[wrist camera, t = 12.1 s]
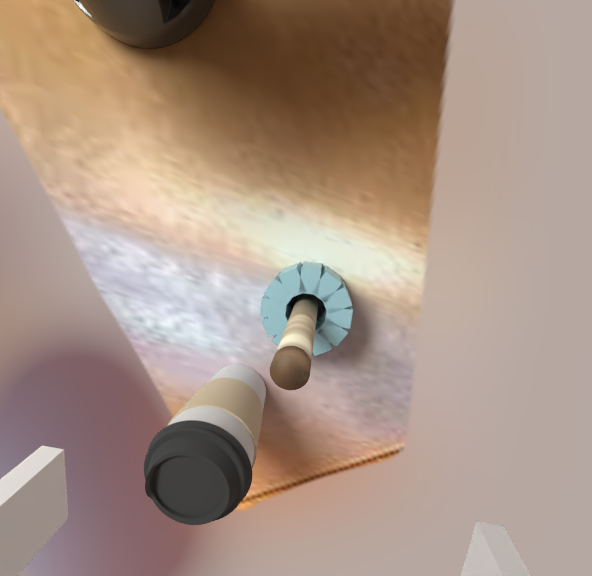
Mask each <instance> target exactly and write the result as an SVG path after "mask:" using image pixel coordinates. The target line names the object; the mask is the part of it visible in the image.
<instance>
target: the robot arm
mask: <svg viewBox="0 0 592 576" xmlns="http://www.w3.org/2000/svg"><path fill="white" fill-rule="evenodd" d="M73 1H74V2H75V4H76V5H77V6H78V7H79V8H80V10H81V11H82V12H83V13H84V14H85V15H86V16H87V17H88V18H89V19H90V20H92V21H93V22H94V23H95V24H97V25H98V26H99V27H100V28H101V29H103V30H104V31H105V32H106V33H107V34H109V35H110V36H112V37H113V38H115V39H117V40H119V41H121V42H123V43H125V44H128V45H131V46H135V47H141V48H157V47H163V46H167V45H170V44H172V43H175V42H177V41H179V40H181V39H182V38H184V37H185V36H187V35H188V34H189V33H191V32H192V31H193V30H194V29H195V28H196V27H197V26H198V25H199V24H200V23H201V22H202V20H203V19H204V18H205V16H206V15H207V13H208V12H209V10H210V8H211V6H212V4H213V2H214V0H73ZM67 518H68V508H67V491H66V475H65V459H64V450H63V449H58V448H51V447H46V446H41V447H40V448H39V449H37V450H36V451H35V452H34V453H32V454H31V455H30V456H29V457H28V458H26V459H25V460H24V461H23V462H21V463H20V464H19V465H18V466H17V467H15V468H14V469H13V470H12V471H10V472H9V473H8V474H7V475H5V476H4V477H3V478H2V479H1V480H0V576H18V575H19V574H20V573H21V572H22V571H23V570H24V568H25V567H26V566H27V565H28V564H29V562H30V561H31V560H32V559H33V558H34V557H35V556H36V554H37V553H38V552H39V551H40V550H41V549H42V547H43V546H44V545H45V544H46V543H47V541H48V540H49V539H50V538H51V537H52V536H53V535H54V533H55V532H56V531H57V530H58V529H59V527H60V526H61V525H62V524H63V523H64V522H65V521H66V519H67ZM461 576H531V575H530V573H529V571H528V569H527V568H526V566H525V564H524V562H523V561H522V559H521V557H520V555H519V553H518V551H517V550H516V548H515V546H514V545H513V543H512V541H511V539H510V537H509V535H508V534H507V532H506V530H505V529H504V526H501V525H496V524H490V523H484V522H478V521H477V522H476V525H475V529H474V532H473V536H472V539H471V542H470V546H469V550H468V552H467V556H466V559H465V563H464V567H463V569H462V573H461Z"/></svg>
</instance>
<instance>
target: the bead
mask: <svg viewBox="0 0 592 576" xmlns="http://www.w3.org/2000/svg"><path fill="white" fill-rule="evenodd" d="M321 268H322V264H320V263H312V262H304V264H303V265H302V266H301V263H300V262H299V263H297V264H295V265H292V266H290V267H287V268H285V269H284V270H283V271H282V272H280V273H279V274H278V275H277V276H276V278H275V279H274V280H273V282H272V283H271V284H270V286H269V287H268V288H267V290H266V291H265V292H264V294H265V295H264V296H263V297H262V303H261V314H260V316H262V317H263V319H262V320H261V322H262V324H263V326H264V328H265V330H266V332H267V335H268V337H272V336H274V335H275V336H274V338H273V340H272V342H274V343H275V344H276V345H278V346H279V344H280V341H281V338H282V336H283V333H284V331H285V328H286V325H287V323H288V320H289V318H290V315H291V312H292V309H291V306H290V300H291V299H292V298H293V297H294V296H297V295H299V294H302V293H306V294H314V295H315V296H316V297H318V298H319V299H320V300H322V301H323V303H324V306H325V308H326V310H325V311H324V313H323V314H322V315H321V316H320V317H319V318H317V319H316V327H315V335H314V343H313V350H312V351H313V353H314V356H317V355H320V354H322V353H325V352H328V351H330V350H332V344H333V345H334V346H335V347H337V346H338V344H339V343H340V342H341V341H342V340H343V338H344V337H345V336H346V335H347V334H348V329H347V328H349V329H350V326H351V320H352V313H353V308H352V302H351V298H350V295H349V292H348V290H347V288H346V285H345V283H344V280H341V276H340V275H338V274H337V273H336V272H334V271H333V270H332V269H330V268H329V267H328V266H326V267H325V268H324V269H323V270H322V272H321Z"/></svg>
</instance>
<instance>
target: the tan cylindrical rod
mask: <svg viewBox="0 0 592 576" xmlns="http://www.w3.org/2000/svg"><path fill="white" fill-rule="evenodd" d="M317 312H318V299H317V297H316V296H315V295H314V294H306V293H302V294H300V295H299V296H298V297H297V299H296V302H295V305H294V307H293V310H292V312H291V315H290V318H289V320H288V323H287V325H286V328H285V331H284V333H283V336H282V338H281V341H280V344H279V346H278V349H277V351H276V354H275V356H274V358H273V361H272V363H271V366H270V375H271V378H272V380H273V381H274V383H275V384H276V385H278V386H279V387H281V388H283V389H286V390H296V389H299V388H301V387H303V386H304V385H305V384H306V383H307V381H308V379H309V376H310V368H311V358H312V350H313V343H314V335H315V327H316V319H317Z"/></svg>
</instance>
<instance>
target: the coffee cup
mask: <svg viewBox="0 0 592 576" xmlns="http://www.w3.org/2000/svg"><path fill="white" fill-rule="evenodd" d="M265 398H266V386H265V383H264V381H263V379H262V377H261V376H260V375H259V373H258V372H256V371H255V370H254V369H252V368H251V367H249V366H246V365H242V364H231V365H228V366H225V367H223V368H222V369H220V370H219V371H218V372H217V373H216V374H215V375H214V377H213V378H212V379H211V380H210V381H209V382H208V383H206V384H205V385H204V386H203V387H202V388H201V389H200V390H199V391H198V392H197V393H196V394H195V395H194V396H193V397H192V398H191V399H190V400H189V401H188V402H187V404H186V405H185V406H184V407H183V408H182V409H181V410H180V411H179V412H178V413H177V414H176V415H175V416H174V417H173V418H172V420H171V421H170V422H169V424H168V426H167V427H165V428H164V429H162V430H161V431H160V432H159V433H158V434H157V435H156V436H155V437H154V439H153V440H152V442H151V443H150V446H149V449H148V452H147V455H146V458H145V462H144V475H145V479H146V483H145V490H146V493H147V495H148V497H150V498H151V499H152V500H153V501H154V503H155V504H156V506H157V507H158V508H159V509H160V510H161V511H162V512H163V513H164V514H165V515H167V516H168V517H170V518H171V519H173V520H175V521H177V522H180V523H184V524H189V525H201V524H206V523H209V522H211V521H215V520H218V519H220V518H223V517H224V516H226V515H228V514H229V513H231V512H232V511H233V510H234V509H235V508H236V507H237V506H238V504H239V503H240V501H241V500H242V499H243V498H244V497H245V496H246V494H247V492H248V490H249V488H250V485H251V481H252V467H253V465H254V462H255V459H256V453H257V447H258V442H259V436H260V430H261V425H262V419H263V408H264V403H265Z"/></svg>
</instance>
